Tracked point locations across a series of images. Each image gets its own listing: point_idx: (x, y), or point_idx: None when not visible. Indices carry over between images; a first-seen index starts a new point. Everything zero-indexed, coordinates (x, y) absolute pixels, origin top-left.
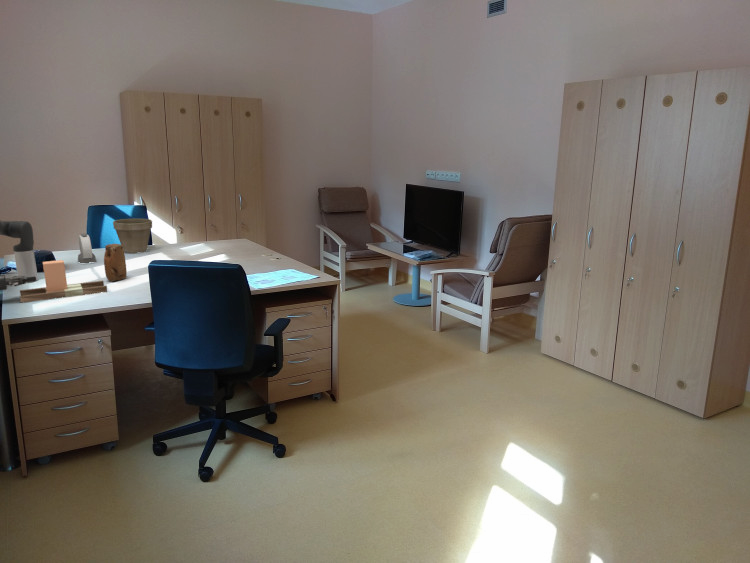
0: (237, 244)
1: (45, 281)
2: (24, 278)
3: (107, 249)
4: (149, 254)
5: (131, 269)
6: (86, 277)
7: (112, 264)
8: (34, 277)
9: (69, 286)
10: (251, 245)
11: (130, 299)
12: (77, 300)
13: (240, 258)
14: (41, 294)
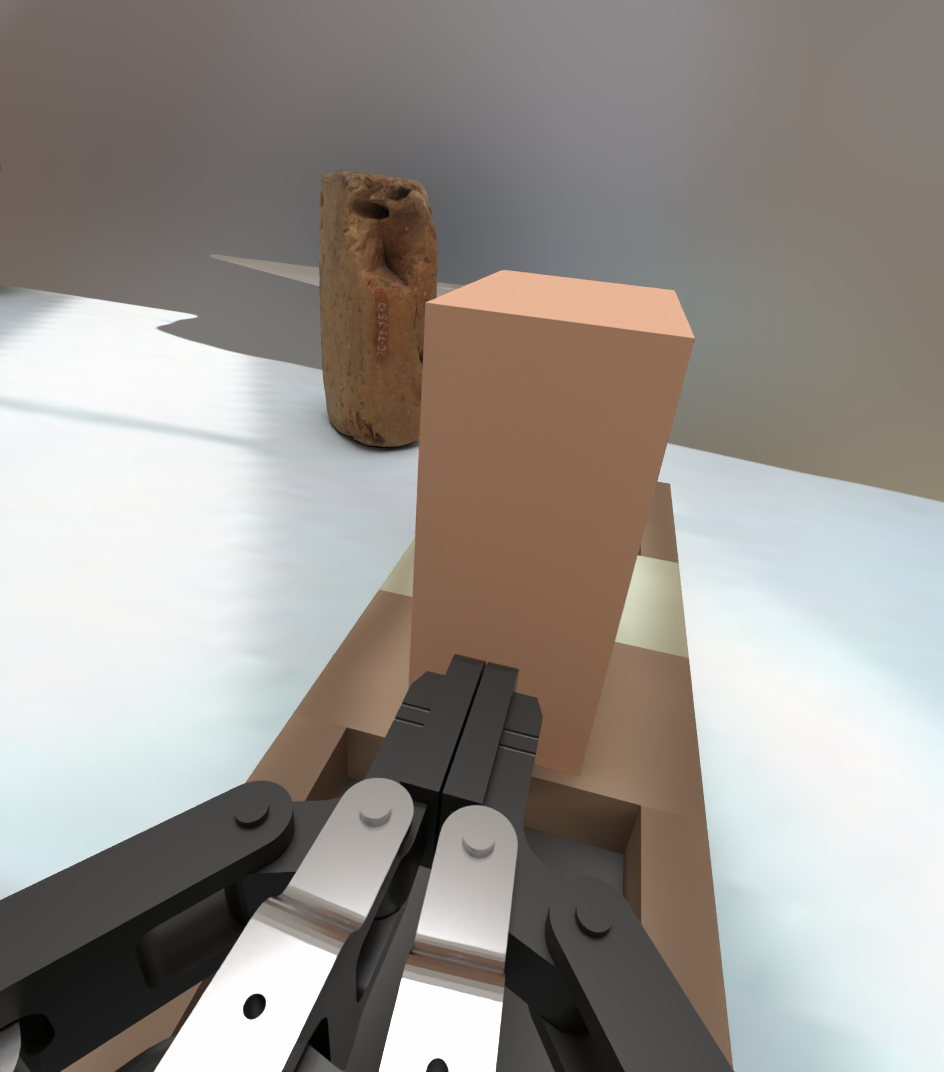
0: (257, 265)
1: (435, 644)
2: (511, 881)
3: (365, 210)
4: (57, 301)
5: (229, 367)
6: (127, 457)
7: None
8: (514, 685)
9: None
10: (306, 267)
11: (928, 527)
12: (859, 690)
13: None
14: (712, 890)
